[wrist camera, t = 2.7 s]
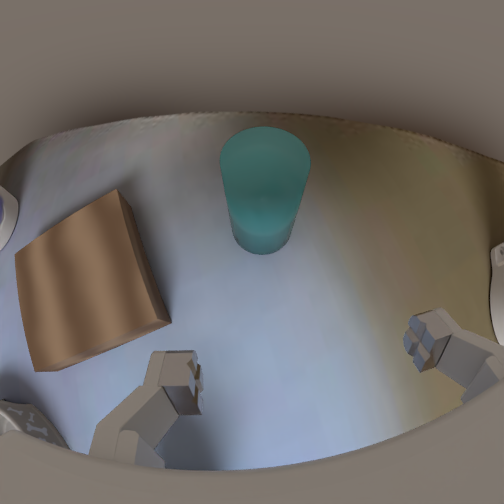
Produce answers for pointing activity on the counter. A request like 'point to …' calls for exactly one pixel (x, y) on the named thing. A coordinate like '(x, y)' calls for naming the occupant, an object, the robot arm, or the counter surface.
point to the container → (7, 215)
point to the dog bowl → (28, 422)
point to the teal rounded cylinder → (263, 186)
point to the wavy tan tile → (87, 286)
